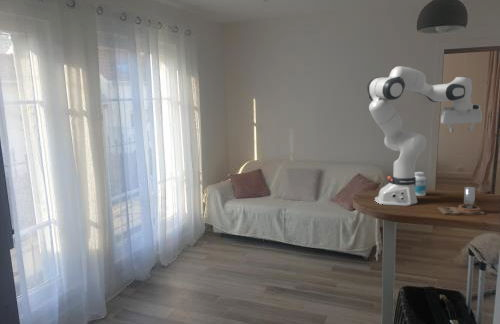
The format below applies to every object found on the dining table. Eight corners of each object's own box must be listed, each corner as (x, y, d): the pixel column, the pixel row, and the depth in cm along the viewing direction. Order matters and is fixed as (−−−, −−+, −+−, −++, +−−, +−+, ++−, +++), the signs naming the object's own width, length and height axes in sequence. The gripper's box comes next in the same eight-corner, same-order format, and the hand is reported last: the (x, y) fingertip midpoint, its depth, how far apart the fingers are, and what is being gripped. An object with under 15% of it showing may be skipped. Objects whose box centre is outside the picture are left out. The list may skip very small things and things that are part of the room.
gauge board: (444, 214, 180) (444, 209, 179) (437, 208, 190) (437, 204, 189) (484, 214, 177) (484, 209, 176) (475, 208, 187) (475, 204, 186)
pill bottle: (414, 192, 223) (414, 170, 221) (427, 194, 218) (427, 172, 216) (410, 195, 217) (410, 173, 215) (423, 197, 213) (424, 174, 211)
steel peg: (465, 210, 181) (466, 189, 179) (462, 208, 185) (463, 186, 183) (475, 210, 180) (476, 188, 178) (471, 208, 184) (472, 186, 182)
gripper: (443, 107, 201) (442, 132, 204) (484, 105, 198) (482, 131, 200) (439, 107, 207) (438, 131, 210) (478, 105, 204) (477, 130, 206)
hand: (460, 131), depth 205 cm, fingers open, 8 cm apart
